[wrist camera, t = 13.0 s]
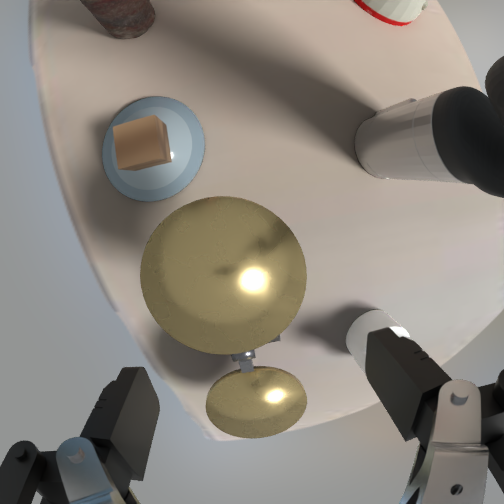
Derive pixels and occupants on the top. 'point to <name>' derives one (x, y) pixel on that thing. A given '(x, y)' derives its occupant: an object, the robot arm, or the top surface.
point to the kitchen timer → (393, 10)
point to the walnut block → (141, 143)
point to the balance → (230, 303)
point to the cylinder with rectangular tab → (363, 326)
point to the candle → (122, 16)
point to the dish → (181, 147)
